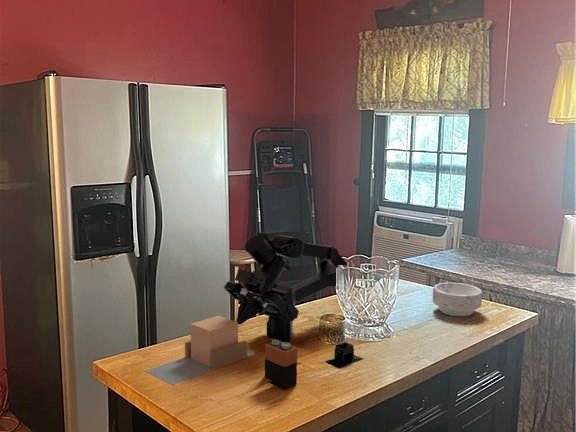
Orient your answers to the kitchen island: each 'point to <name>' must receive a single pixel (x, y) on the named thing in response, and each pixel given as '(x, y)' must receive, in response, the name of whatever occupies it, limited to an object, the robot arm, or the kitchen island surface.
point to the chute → (199, 363)
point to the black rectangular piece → (343, 356)
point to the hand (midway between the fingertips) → (237, 323)
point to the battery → (281, 364)
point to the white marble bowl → (457, 298)
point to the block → (212, 337)
